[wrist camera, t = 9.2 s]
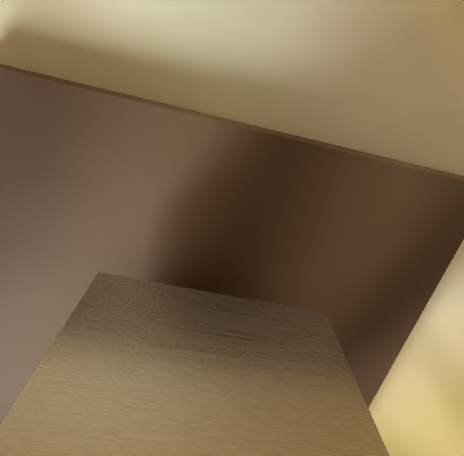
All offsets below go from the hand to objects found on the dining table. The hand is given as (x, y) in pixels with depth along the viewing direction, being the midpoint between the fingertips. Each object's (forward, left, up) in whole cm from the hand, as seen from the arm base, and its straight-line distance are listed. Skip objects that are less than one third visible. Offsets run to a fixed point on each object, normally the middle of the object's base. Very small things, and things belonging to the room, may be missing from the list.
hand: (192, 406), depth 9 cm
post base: (0, 0, -4) cm, 4 cm away
